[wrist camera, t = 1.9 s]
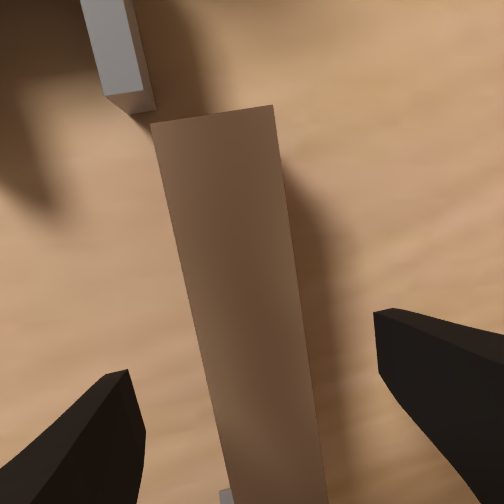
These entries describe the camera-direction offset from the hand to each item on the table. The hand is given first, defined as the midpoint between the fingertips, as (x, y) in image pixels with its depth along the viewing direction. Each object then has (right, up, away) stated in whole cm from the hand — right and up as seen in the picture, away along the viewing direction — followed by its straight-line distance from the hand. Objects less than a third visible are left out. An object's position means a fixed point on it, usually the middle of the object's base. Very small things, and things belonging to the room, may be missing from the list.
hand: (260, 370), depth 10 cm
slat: (-1, +1, +5) cm, 5 cm away
